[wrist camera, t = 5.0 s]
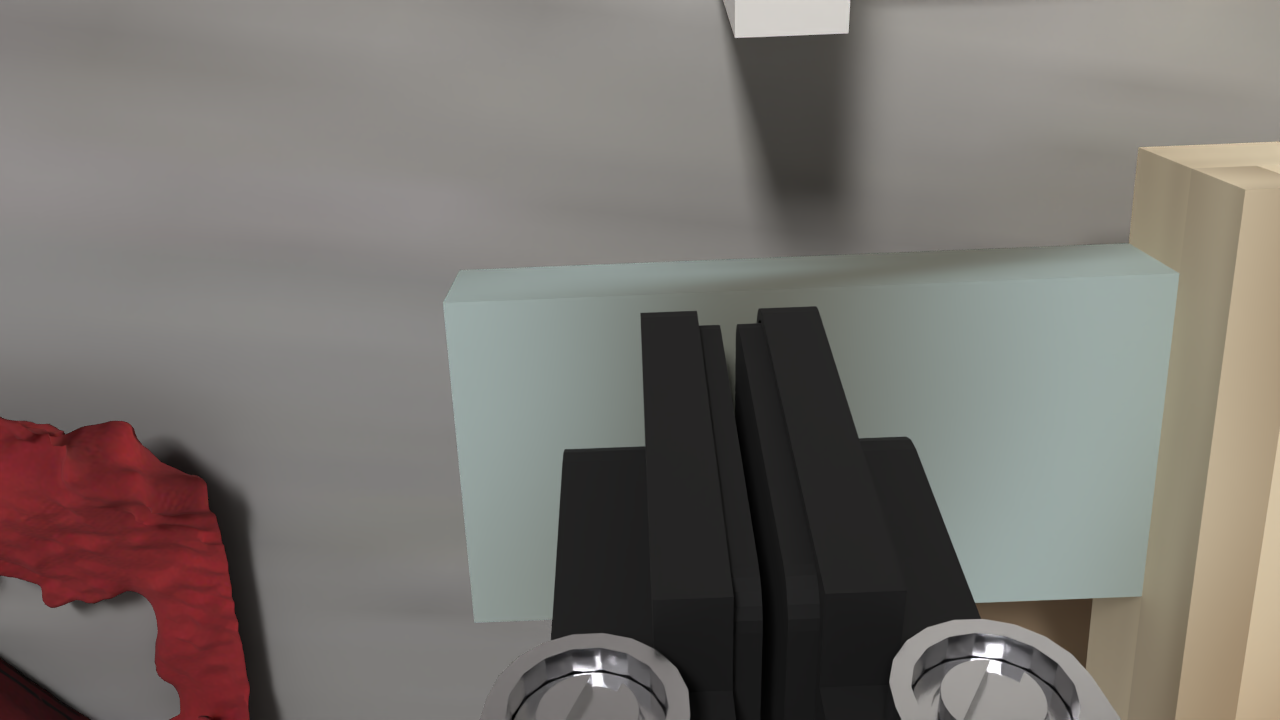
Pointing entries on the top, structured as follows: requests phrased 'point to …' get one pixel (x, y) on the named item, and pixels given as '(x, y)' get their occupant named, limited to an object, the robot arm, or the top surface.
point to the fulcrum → (1048, 620)
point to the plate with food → (120, 557)
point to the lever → (965, 414)
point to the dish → (787, 17)
